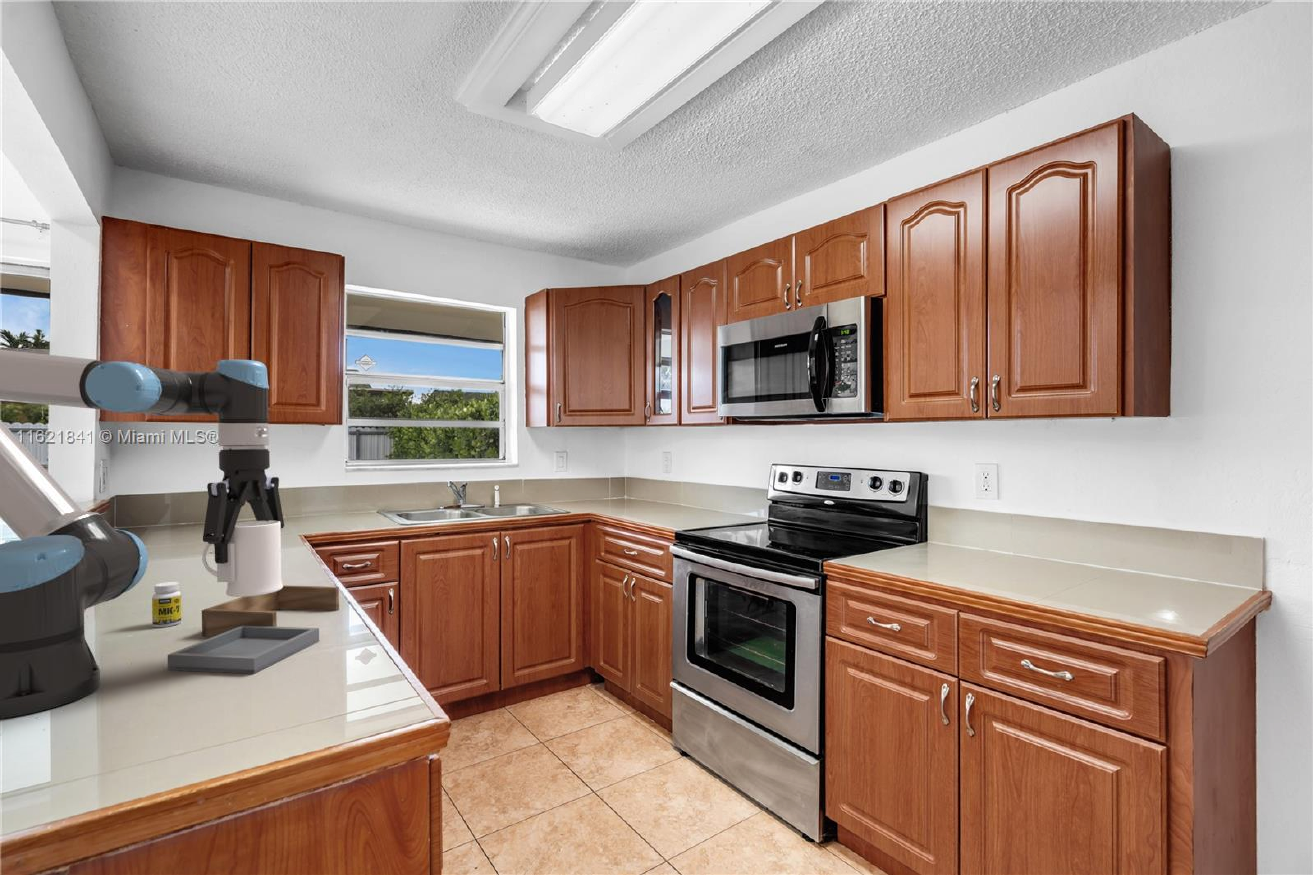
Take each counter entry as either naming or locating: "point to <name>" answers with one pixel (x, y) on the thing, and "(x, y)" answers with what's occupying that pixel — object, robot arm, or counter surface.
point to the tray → (243, 649)
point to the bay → (266, 608)
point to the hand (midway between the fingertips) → (247, 575)
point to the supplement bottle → (166, 605)
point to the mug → (254, 559)
